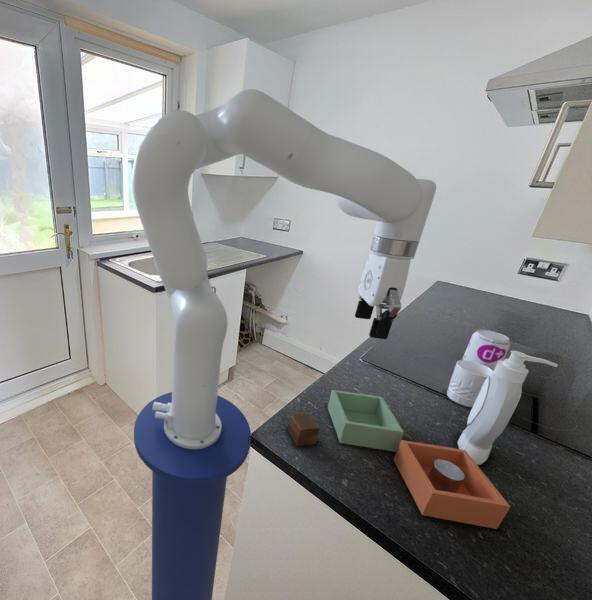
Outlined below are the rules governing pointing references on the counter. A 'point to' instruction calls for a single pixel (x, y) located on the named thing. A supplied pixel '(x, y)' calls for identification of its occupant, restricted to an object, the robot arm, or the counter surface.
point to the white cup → (467, 382)
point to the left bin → (364, 421)
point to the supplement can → (487, 348)
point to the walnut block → (303, 429)
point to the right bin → (446, 505)
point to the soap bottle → (495, 405)
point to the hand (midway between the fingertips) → (369, 327)
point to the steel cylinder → (446, 476)
